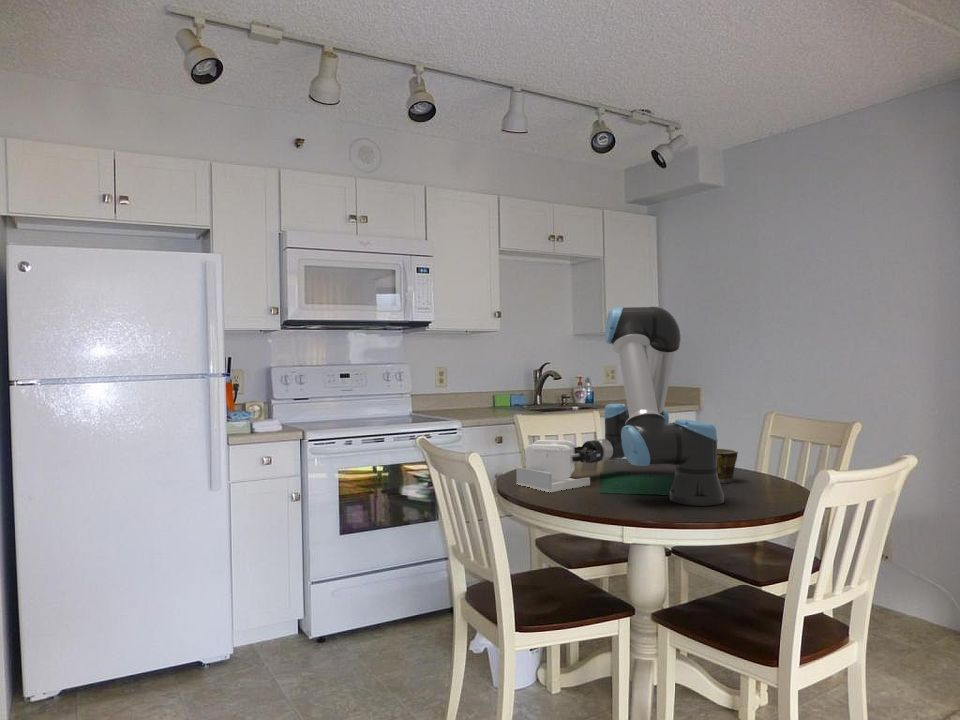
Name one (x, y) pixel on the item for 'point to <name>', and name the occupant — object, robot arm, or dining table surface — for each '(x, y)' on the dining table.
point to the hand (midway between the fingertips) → (550, 457)
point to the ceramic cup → (726, 464)
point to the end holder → (547, 480)
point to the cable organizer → (551, 457)
